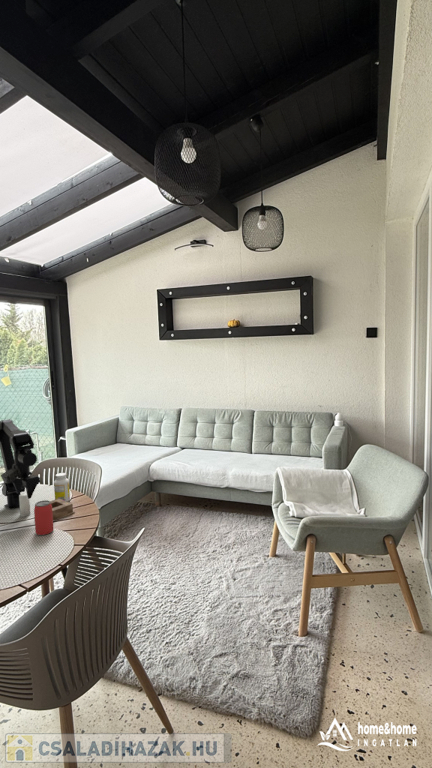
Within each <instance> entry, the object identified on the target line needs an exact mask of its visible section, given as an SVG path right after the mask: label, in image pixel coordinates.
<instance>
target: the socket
mask: <svg viewBox="0 0 432 768" xmlns="http://www.w3.org/2000/svg"><path fill="white" fill-rule="evenodd" d="M49 501H50V503H51V505H52V513H53V522H54V521H56V520H59V519H62V518H65V517H67V516H69V515H72V514H75V511H74V508H73V507H74V506H73V503H71V502H69V501H64V500H62V499H59V498H58V499H55V498H54V499H53V500H49Z"/></svg>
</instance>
